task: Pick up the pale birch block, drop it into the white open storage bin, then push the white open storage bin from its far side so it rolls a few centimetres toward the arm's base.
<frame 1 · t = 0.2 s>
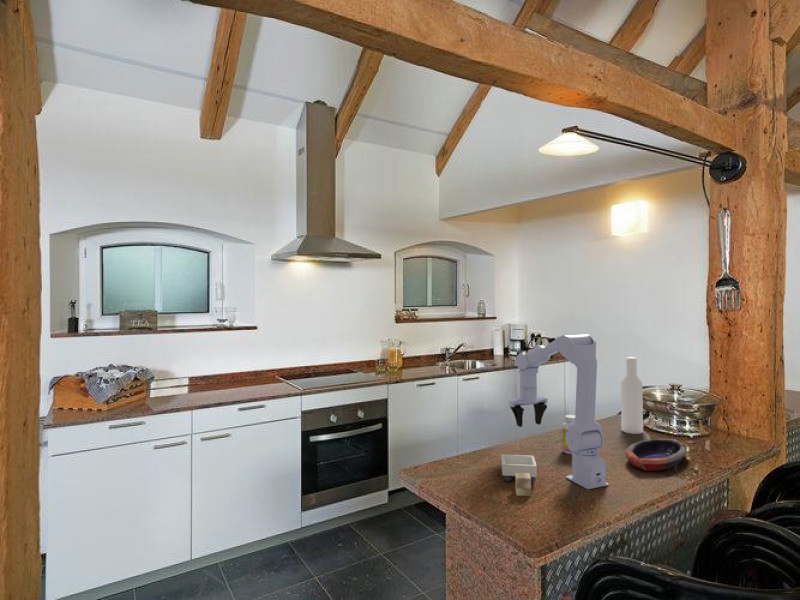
hand: (528, 425, 167), 10 cm above the counter, tool pointing down, fingers open, 7 cm apart
white open storage bin: (518, 468, 145), point 3 cm above the counter, slide at 0.0 cm
supplement bottle: (572, 452, 167), on the counter
block: (523, 493, 134), on the counter
dish: (655, 462, 157), on the counter
bottle: (632, 431, 191), on the counter
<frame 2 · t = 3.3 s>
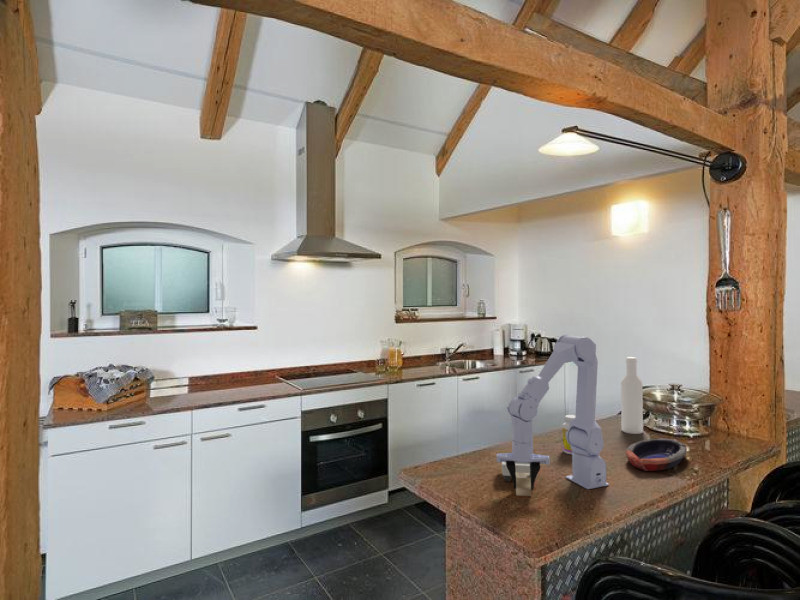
hand: (523, 487, 134), 1 cm above the counter, tool pointing down, fingers closed on block, 4 cm apart
block: (523, 492, 134), on the counter, touching gripper
everything else where it was.
when the fingers open (6 cm above the counter, at t = 6.1 s): block drops 2 cm, resting on white open storage bin.
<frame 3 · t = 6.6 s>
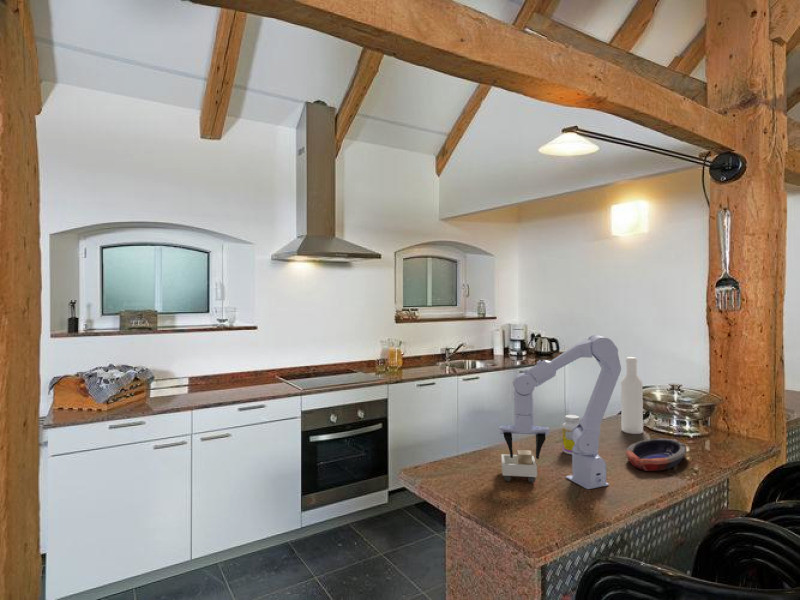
hand: (524, 457, 145), 6 cm above the counter, tool pointing down, fingers open, 7 cm apart
white open storage bin: (518, 468, 145), point 3 cm above the counter, slide at 0.0 cm, touching block
block: (524, 468, 144), point 3 cm above the counter, touching white open storage bin
everything else where it was.
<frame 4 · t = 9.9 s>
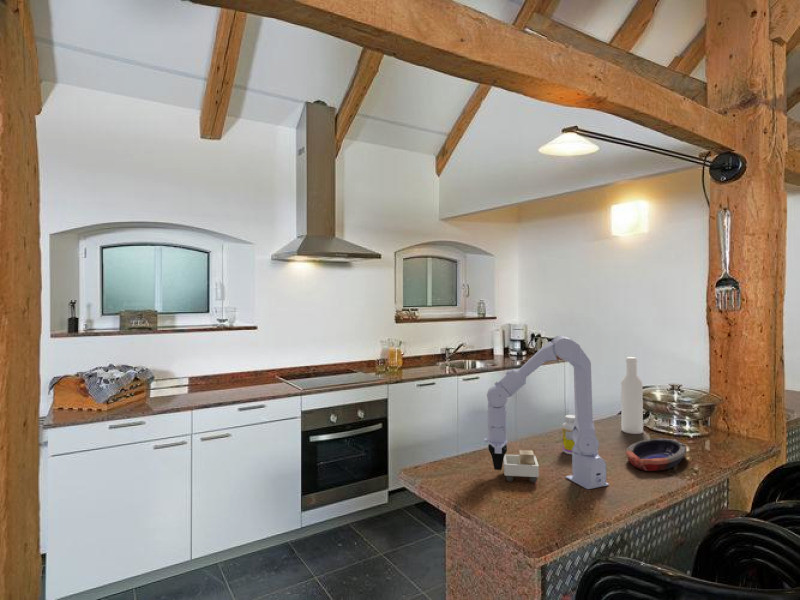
hand: (497, 469, 146), 2 cm above the counter, tool pointing down, fingers closed, pressing on white open storage bin
white open storage bin: (520, 468, 145), point 3 cm above the counter, slide at 0.6 cm, touching block, gripper
everything else where it was.
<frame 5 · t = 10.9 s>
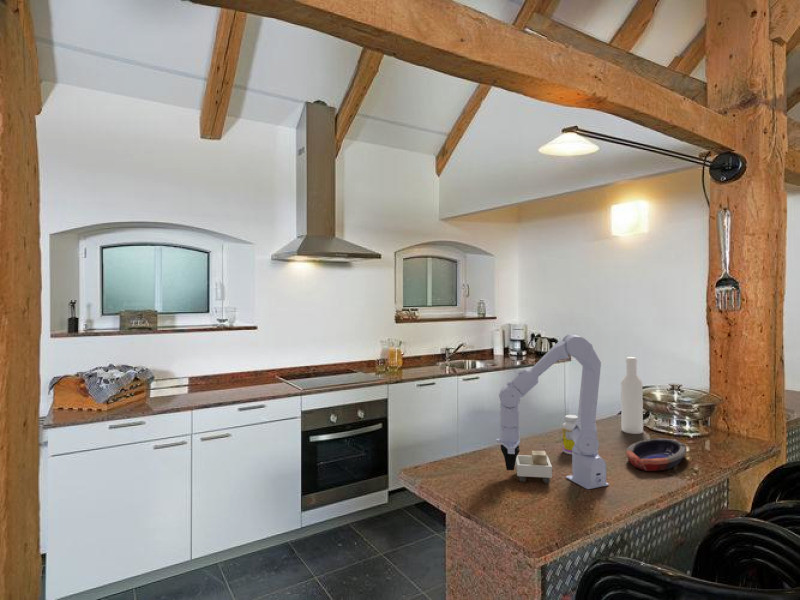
hand: (510, 469, 145), 2 cm above the counter, tool pointing down, fingers closed, pressing on white open storage bin
white open storage bin: (533, 469, 144), point 3 cm above the counter, slide at 4.3 cm, touching block, gripper
block: (539, 469, 144), point 3 cm above the counter, touching white open storage bin
everything else where it was.
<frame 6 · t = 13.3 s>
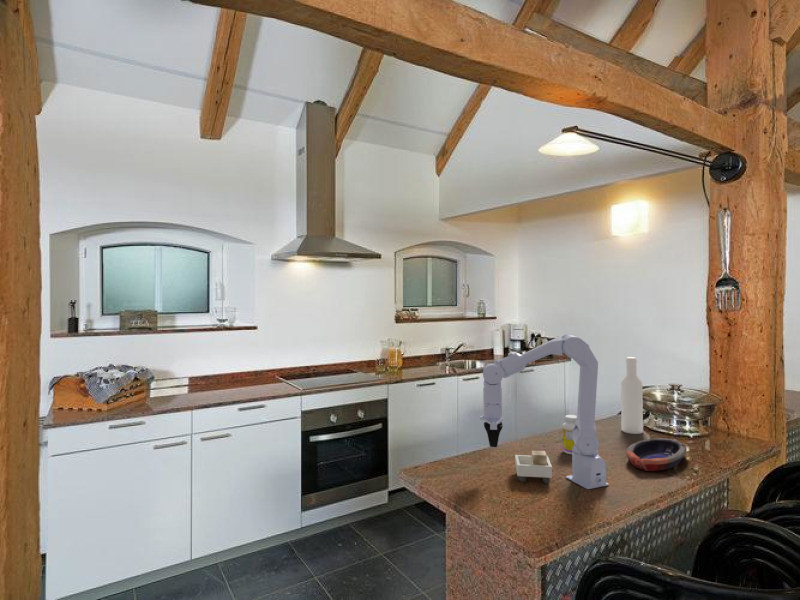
hand: (493, 446, 146), 9 cm above the counter, tool pointing down, fingers closed
white open storage bin: (533, 469, 144), point 3 cm above the counter, slide at 4.3 cm, touching block
everything else where it was.
at the end: white open storage bin slide at 4.3 cm; block inside the target area on the white open storage bin (1.9 cm from its centre), point 3.0 cm above the white open storage bin's base; block tilted 0° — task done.
